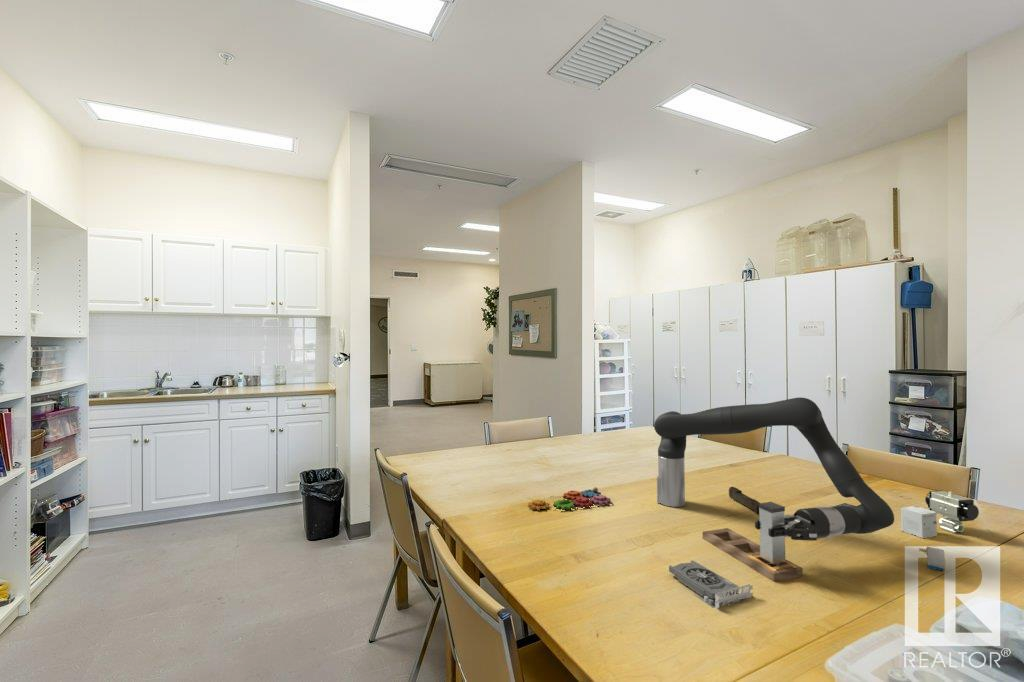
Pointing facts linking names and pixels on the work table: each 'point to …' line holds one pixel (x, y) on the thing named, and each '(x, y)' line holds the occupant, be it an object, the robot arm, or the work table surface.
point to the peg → (769, 546)
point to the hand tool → (743, 499)
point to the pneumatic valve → (952, 509)
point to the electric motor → (934, 558)
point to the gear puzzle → (574, 500)
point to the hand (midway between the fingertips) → (762, 528)
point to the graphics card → (710, 585)
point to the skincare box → (918, 521)
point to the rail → (751, 554)
